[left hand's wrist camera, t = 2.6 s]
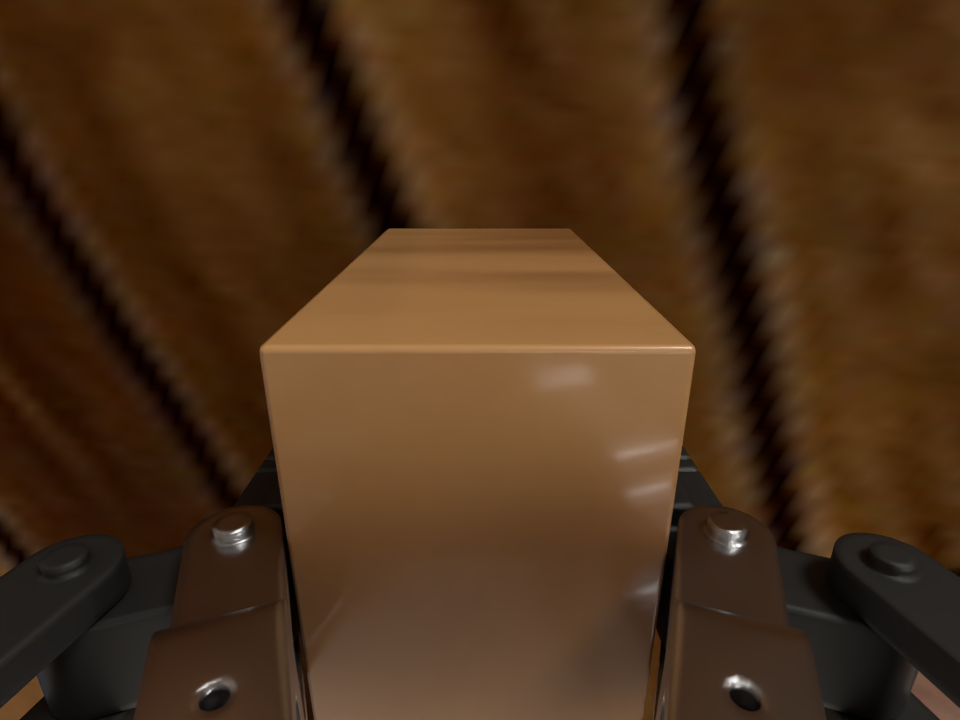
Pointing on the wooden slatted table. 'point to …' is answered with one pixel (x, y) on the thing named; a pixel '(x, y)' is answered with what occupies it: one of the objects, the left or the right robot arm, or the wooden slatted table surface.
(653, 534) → the bar
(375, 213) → the wooden slatted table surface
